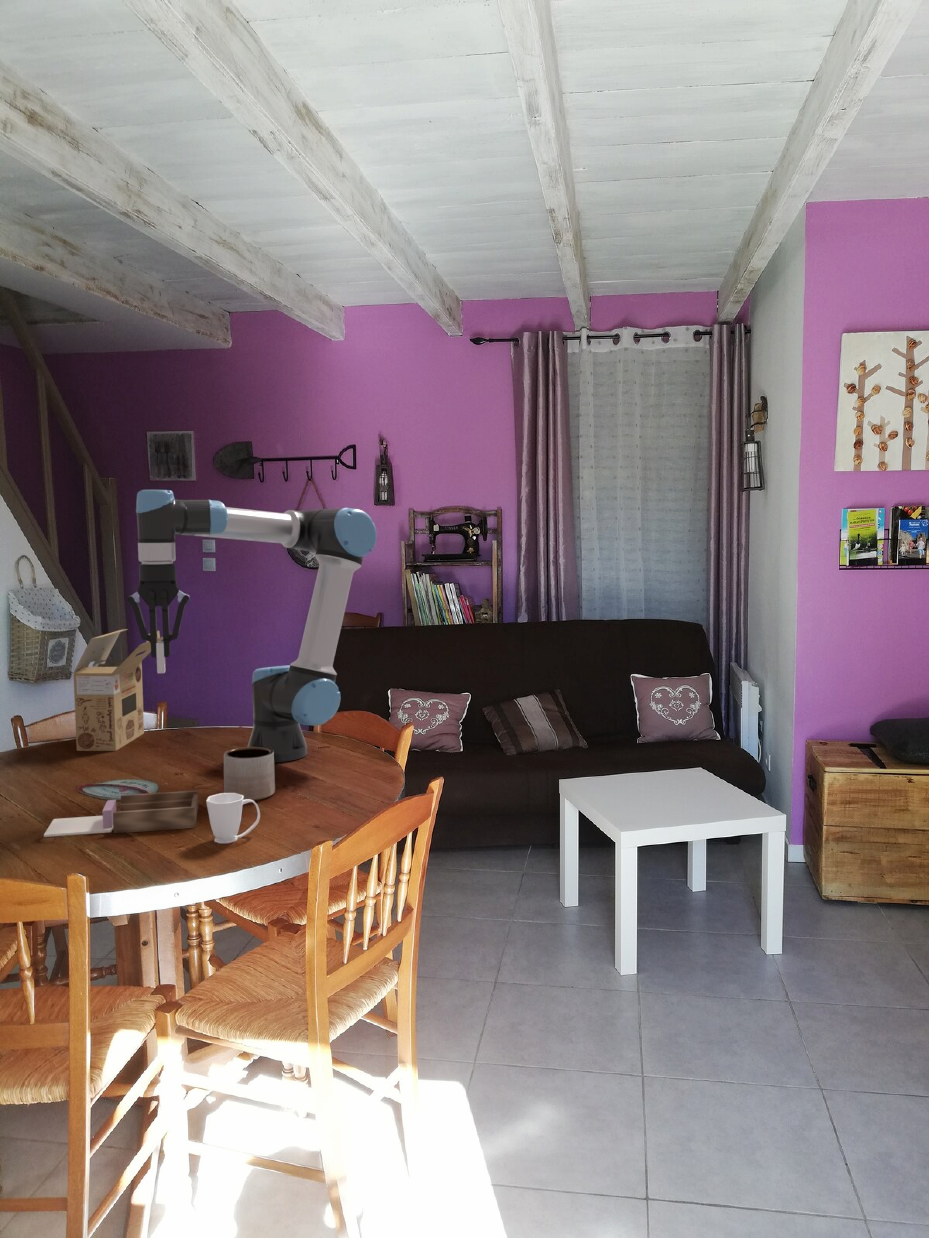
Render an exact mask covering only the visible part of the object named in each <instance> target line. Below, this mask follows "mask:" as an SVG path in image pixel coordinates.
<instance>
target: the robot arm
mask: <svg viewBox="0 0 929 1238" xmlns="http://www.w3.org/2000/svg"><path fill="white" fill-rule="evenodd" d="M135 503H136V507H135V513H136V525H137V526H136V527H137V539H138V540H137V552H138V553H137V554H138V556H137V557H138V562H141V563H140V564H139V565H138V578H139V579H138V580H139V581H138V582H139V584H138V587H137V588H136V592H134V593H133V594H132V595H129V596H127V598H126V601H127V602H128V603H129V605H130V606H131V607H132V611H133V615H134V617H135V621H136V624H137V627H138V631H139V634H140V638H141V640H142V641H145V642H146V641H149V642H150V643H151V652H150V656H151V658H152V659H153V658H154V659H155V658H156V671H157V672H156V673H157V674H165V673H166V658H169V657H170V655H171V641H174V640H177V639H178V638H179V636H180V635H179V634H180V629H181V625H182V621H183V616H184V611H185V607H186V604H187V602H188V601H189V599H190V595H189V594H188V593H184V592H183V591H181V590H180V587H179V585H178V583H177V565H176V564H175V563H174V562H175V561H176V559H177V558H176V536H177V535H181V536H193V537H194V536H195V537H204V538H206V537H207V538H216V539H217V538H218V539H219V538H220V539H228V540H229V539H230V540H238V541H250V542H251V541H253V542H263V543H274V544H281V545H282V546H283V547H284V548H287V549H295V550H300V551H305V552H311V553H315V555H314V557H315V559H316V560H317V562H318V565H319V566H318V570H317V574H316V580H315V583H314V587H313V592H312V597H311V602H310V605H309V610H308V614H307V618H306V620H305V621H306V622H305V626H304V630H303V635H302V640H301V644H300V648H299V653H298V657H297V659H296V660H294V661H292V662H291V663H290V664H289V665H278V666H276V665H275V666H267V667H261V668H256V669H255V670H254V671H253V672H252V678H251V679H252V680H251V686H252V687H251V689H252V717H253V720H252V722H253V726H252V731H251V733H250V737H249V740H248V742H247V743H248V744H247V746H246V747H265V748H269V749H272V750H273V751H274V763H281V762H289V761H294V760H299V759H302V758H304V757H306V756H307V755H308V745H307V742H306V739H305V737H304V733H303V730H302V728H301V725H304V726H315V727H316V726H321V725H324V724H326V723H328V721H329V720H332V718H333V717H334V716H335V715H336V713H337V712H338V710H339V707H340V703H341V691H339V686H338V685H337V684H336V679H337V677H338V676H337V675H338V673H337V671H336V670H335V669H334V666H333V665H334V661H335V656H336V651H337V646H338V644H339V643H338V642H339V638H340V634H341V629H342V627H343V626H342V624H343V621H344V617H345V613H346V608H347V603H348V599H349V594H350V590H351V585H352V580H353V576H354V573H355V572H356V571H357V570H359V569H360V568H362V564H363V560H364V557H365V556H367V555H368V554H369V553H370V552H372V551H373V550H374V548H375V546H376V545H377V544H376V543H377V539H378V538H377V537H378V534H377V527H376V525H375V523H374V521H373V519H372V517H371V516H370V515H369V514H368V513H367V512H365V511H364V510H361V509H358V508H351V507H343V508H319V509H310V510H295V509H294V510H293V509H288V510H286V511H284V512H276V511H274V512H273V511H267V510H266V511H265V510H255V509H246V508H239V507H228V506H225V504H224V503H223V502H222V501H220V500H213V499H212V500H211V499H177V498H175V496H174V492H173V490H169V489H141V490H139V491H137V494H136V502H135ZM176 597H177V602H178V603H179V604H178V606H177V611H176V614H175V621H174V625H173V629H172V633H171V629H170V611H169V610H170V605H171V604H172V602H173V600H174V599H175V598H176ZM140 598H142V600H143V601H144V602H145V603H146V604H147V606H148V611H149V613H148V614H149V632H148V629H147V626H146V623H145V619H144V616H143V613H142V609H141V607H140V606H141V605H140V601H141V599H140ZM157 607H161V616H162V617H161V619H162V637H163V640H162V641H161V642H157V639H158V638H157V631H158V622H157V618H158V617H157V615H158V614H157ZM149 634H150V635H149Z"/></svg>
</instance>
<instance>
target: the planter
mask: <svg viewBox="0 0 929 1238" xmlns="http://www.w3.org/2000/svg"><path fill="white" fill-rule="evenodd" d="M275 775H276V774H275V762H274V751H273V750H272V749H269V748H265V747H247V746H244V747H237V748H232V749H229V750H227V751H225V752H224V753H223V793H237V794H240V795H243V796H244V798H243V800H245V799H251V800H253V801H254V802H257V801H262V800H266V799H268V798H271V796H272V795H274V794H275V793H276V783H275V780H276V779H275V777H276V776H275Z"/></svg>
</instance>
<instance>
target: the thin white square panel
mask: <svg viewBox="0 0 929 1238" xmlns="http://www.w3.org/2000/svg"><path fill="white" fill-rule="evenodd" d="M101 812H102V815H94V816H93V815H92V816H90V815H89V816H78V817H76V816H75V817H65V818H64V817H63V818H62V817H61V818H53V819H52V821H51V823H50V824H49V826H48V828H47V829H46V831H45V832H44V834H43V838H47V837H49V838H50V837H63V836H65V837H66V836H75V835H90V834H92V835H93V834H102V833H103V834H104V833H112V831H113V830H114V828H113V812H117V799H108V800H107V801H106V802H105V805H104V806H103V809H102V811H101Z"/></svg>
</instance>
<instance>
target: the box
mask: <svg viewBox="0 0 929 1238" xmlns="http://www.w3.org/2000/svg"><path fill="white" fill-rule="evenodd" d="M127 630H129V629H128V628H127V629H125V628H123V629H119V630H115V631H113V632H110V633H109V632H108V633H106V634H102V635H99V636H95V637H92V638H90V640H89V642H88V643H87V646H86V647H85V650H84V651H83V653H82V655H81V657H80V659H79V661H78V663H77V665H76V667H75V668H74V671H73V693H74V694H73V695H74V697H73V698H74V717H75V719H74V721H75V736H76V738H75V739H76V740H75V743H76V751H78V752H79V751H80V752H83V751H84V752H91V751H92V752H97V751H98V752H112V751H113V752H116V751H118V750H120V749H121V748H123V747H125V746H126V745H128V744H129V743H131V742H132V741H134V740H136V739H137V738H139V737H141V736H143V734H144V733H145V722H144V721H145V720H144V694H143V692H144V689H143V665H142V663H143V662H142V661H143V660H144V659H145V658H146V657H147V656H148V655H149V654H151V643H150V642H149V641H146V640H145V642H144V643H141V644H139V645H138V646H137V647H136V648H135V649H134V650H133V651H132V652H131V653H130V654H129V655H128V656H127V658H125V660H118V659H117V660H108V657H109V655H110V654H111V650H112V649H113V647H114V645H115V644H116V641H118V640H117V639H118V637H119V635H120V633H121V632H125V631H127ZM148 634H149V635H150V633H148ZM157 638H158V639H157V642H163V636H161V634H160V630H157ZM140 653H141V654H140ZM93 662H94V663H93ZM91 663H92V666H90V664H91Z"/></svg>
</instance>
